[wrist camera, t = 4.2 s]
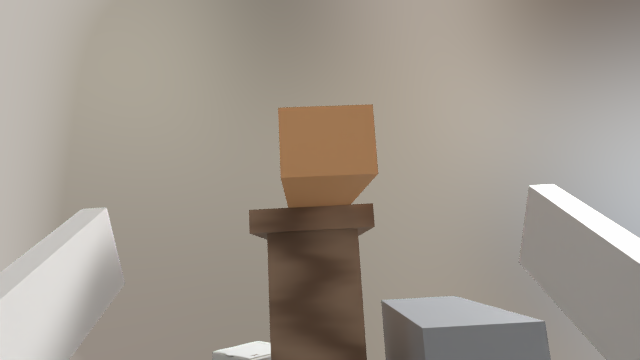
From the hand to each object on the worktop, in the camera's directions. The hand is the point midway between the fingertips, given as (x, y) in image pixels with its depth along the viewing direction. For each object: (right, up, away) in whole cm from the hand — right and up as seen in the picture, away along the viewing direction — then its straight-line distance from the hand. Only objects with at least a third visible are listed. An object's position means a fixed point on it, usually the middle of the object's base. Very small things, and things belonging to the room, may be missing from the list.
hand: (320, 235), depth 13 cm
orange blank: (0, -1, +17) cm, 17 cm away
